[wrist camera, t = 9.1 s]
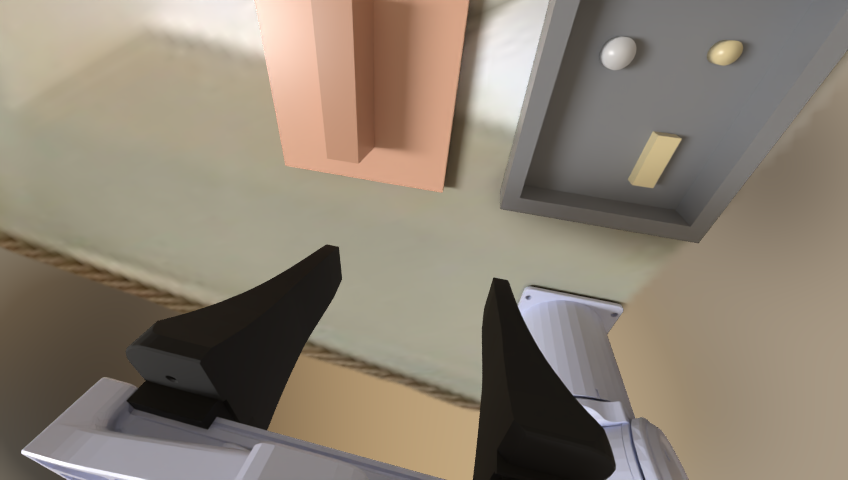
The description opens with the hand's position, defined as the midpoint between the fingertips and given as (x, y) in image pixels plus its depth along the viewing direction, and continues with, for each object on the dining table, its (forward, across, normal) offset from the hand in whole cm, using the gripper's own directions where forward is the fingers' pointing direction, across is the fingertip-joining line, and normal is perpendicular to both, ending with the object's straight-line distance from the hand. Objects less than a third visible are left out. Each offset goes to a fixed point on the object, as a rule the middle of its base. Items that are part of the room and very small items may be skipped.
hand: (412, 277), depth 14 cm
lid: (+10, +6, -6) cm, 13 cm away
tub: (+10, -10, -6) cm, 16 cm away
